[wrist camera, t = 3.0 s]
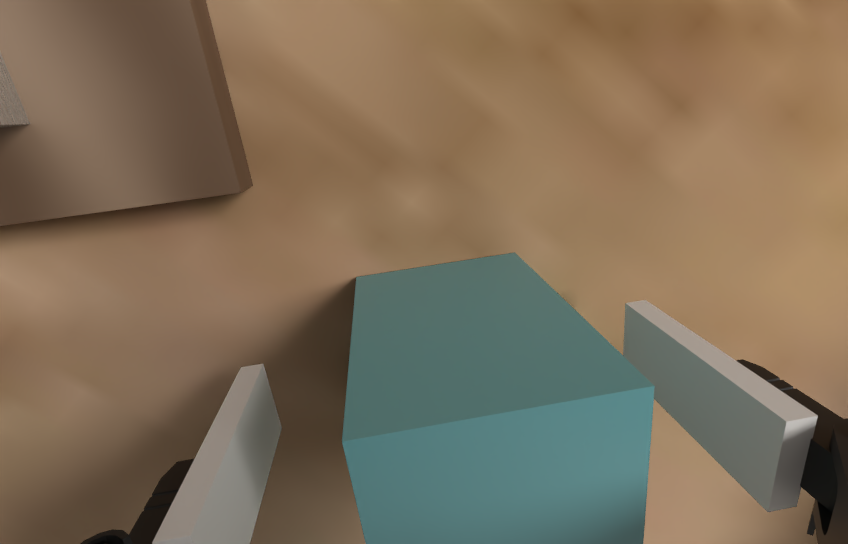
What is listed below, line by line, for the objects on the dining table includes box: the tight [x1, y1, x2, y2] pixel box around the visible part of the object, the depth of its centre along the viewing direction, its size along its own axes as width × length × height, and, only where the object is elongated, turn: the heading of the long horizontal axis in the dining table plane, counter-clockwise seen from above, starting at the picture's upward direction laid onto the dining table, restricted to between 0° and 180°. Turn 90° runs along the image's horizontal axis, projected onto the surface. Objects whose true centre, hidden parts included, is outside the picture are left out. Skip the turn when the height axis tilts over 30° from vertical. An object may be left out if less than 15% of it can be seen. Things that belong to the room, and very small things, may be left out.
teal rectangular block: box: [342, 253, 655, 544], centre depth 14 cm, size 6×6×9 cm
